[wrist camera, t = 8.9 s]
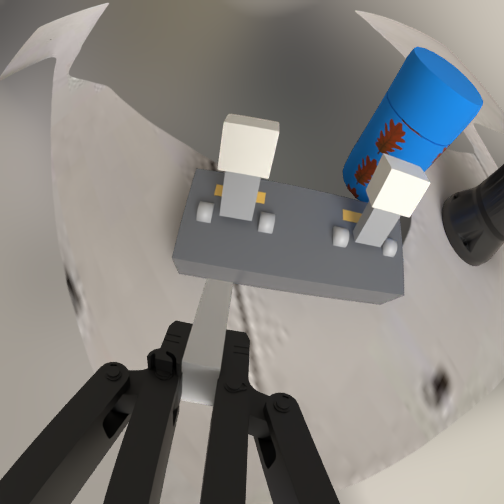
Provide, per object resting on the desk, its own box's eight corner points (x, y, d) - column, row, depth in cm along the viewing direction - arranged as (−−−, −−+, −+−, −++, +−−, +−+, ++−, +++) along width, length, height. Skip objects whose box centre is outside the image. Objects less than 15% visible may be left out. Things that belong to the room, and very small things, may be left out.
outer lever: (259, 209, 33) (279, 122, 26) (257, 225, 31) (279, 131, 24) (216, 202, 33) (228, 113, 25) (212, 217, 31) (223, 121, 23)
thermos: (329, 169, 44) (397, 45, 21) (365, 149, 47) (430, 46, 24) (373, 220, 42) (474, 113, 19) (405, 192, 45) (490, 101, 22)
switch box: (378, 229, 41) (403, 207, 35) (380, 304, 37) (409, 292, 30) (198, 193, 40) (196, 162, 33) (178, 273, 35) (170, 254, 29)
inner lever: (380, 234, 34) (420, 166, 26) (385, 252, 32) (430, 182, 24) (346, 226, 34) (383, 153, 26) (350, 244, 32) (391, 168, 24)
